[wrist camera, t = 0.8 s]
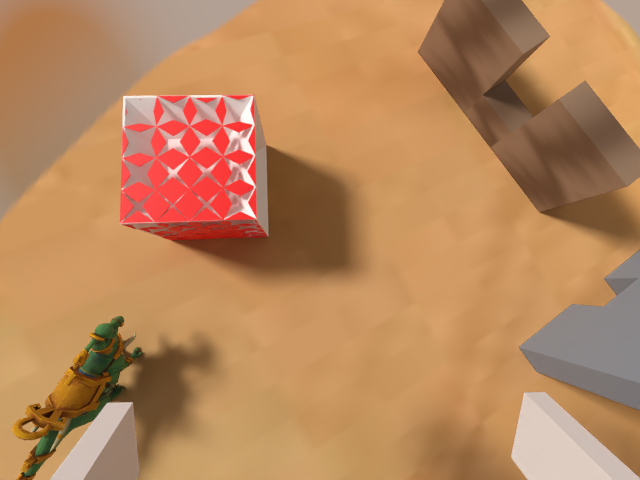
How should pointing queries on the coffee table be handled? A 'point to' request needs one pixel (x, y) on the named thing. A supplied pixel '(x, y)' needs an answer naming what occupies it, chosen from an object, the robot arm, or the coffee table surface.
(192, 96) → the red patterned cube
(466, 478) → the coffee table surface
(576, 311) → the grey slotted plate
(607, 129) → the walnut slotted upright
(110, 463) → the robot arm
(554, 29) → the coffee table surface
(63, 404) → the figurine
